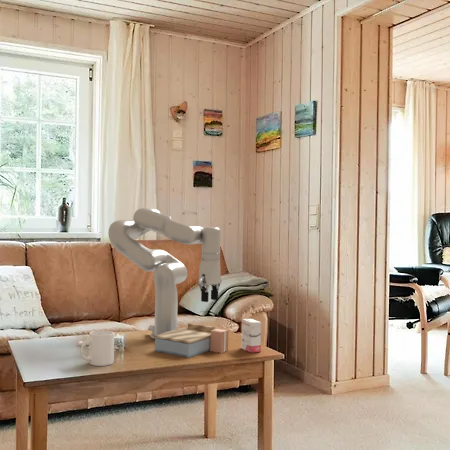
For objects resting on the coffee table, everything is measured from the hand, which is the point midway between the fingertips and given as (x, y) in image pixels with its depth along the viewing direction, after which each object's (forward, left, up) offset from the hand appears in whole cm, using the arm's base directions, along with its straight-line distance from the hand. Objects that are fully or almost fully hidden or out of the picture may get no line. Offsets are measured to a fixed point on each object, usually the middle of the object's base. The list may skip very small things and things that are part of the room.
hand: (209, 300), depth 240 cm
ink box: (+20, 0, -18) cm, 27 cm away
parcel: (+11, -9, -18) cm, 23 cm away
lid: (0, -15, -12) cm, 19 cm away
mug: (-12, -52, -18) cm, 56 cm away
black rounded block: (-36, -32, -18) cm, 52 cm away
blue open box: (0, -15, -18) cm, 23 cm away
